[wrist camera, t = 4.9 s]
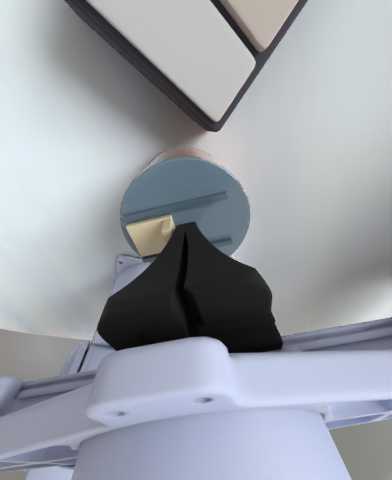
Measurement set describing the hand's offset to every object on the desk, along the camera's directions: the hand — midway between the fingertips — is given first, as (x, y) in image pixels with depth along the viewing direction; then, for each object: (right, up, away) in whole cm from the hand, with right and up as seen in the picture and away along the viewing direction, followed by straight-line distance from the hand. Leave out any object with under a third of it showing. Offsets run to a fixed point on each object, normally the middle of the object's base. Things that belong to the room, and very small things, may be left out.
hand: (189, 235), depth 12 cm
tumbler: (-1, +5, +6) cm, 8 cm away
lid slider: (-2, 0, +1) cm, 3 cm away
